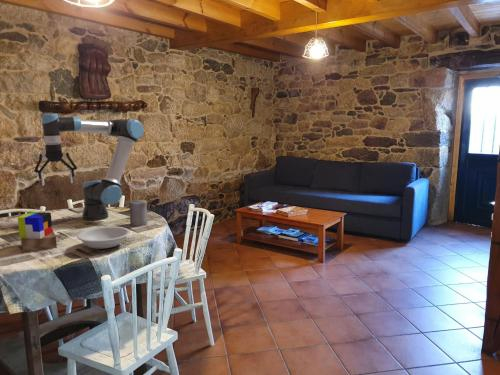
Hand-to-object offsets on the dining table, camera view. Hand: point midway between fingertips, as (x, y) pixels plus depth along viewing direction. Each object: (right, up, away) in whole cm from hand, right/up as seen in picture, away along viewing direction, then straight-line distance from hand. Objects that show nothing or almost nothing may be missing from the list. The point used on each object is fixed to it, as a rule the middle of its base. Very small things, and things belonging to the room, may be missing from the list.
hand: (57, 184), depth 204 cm
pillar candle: (+37, -24, +21) cm, 49 cm away
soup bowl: (+32, -30, -18) cm, 47 cm away
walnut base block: (0, -31, -18) cm, 36 cm away
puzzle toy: (-1, -25, -19) cm, 32 cm away
